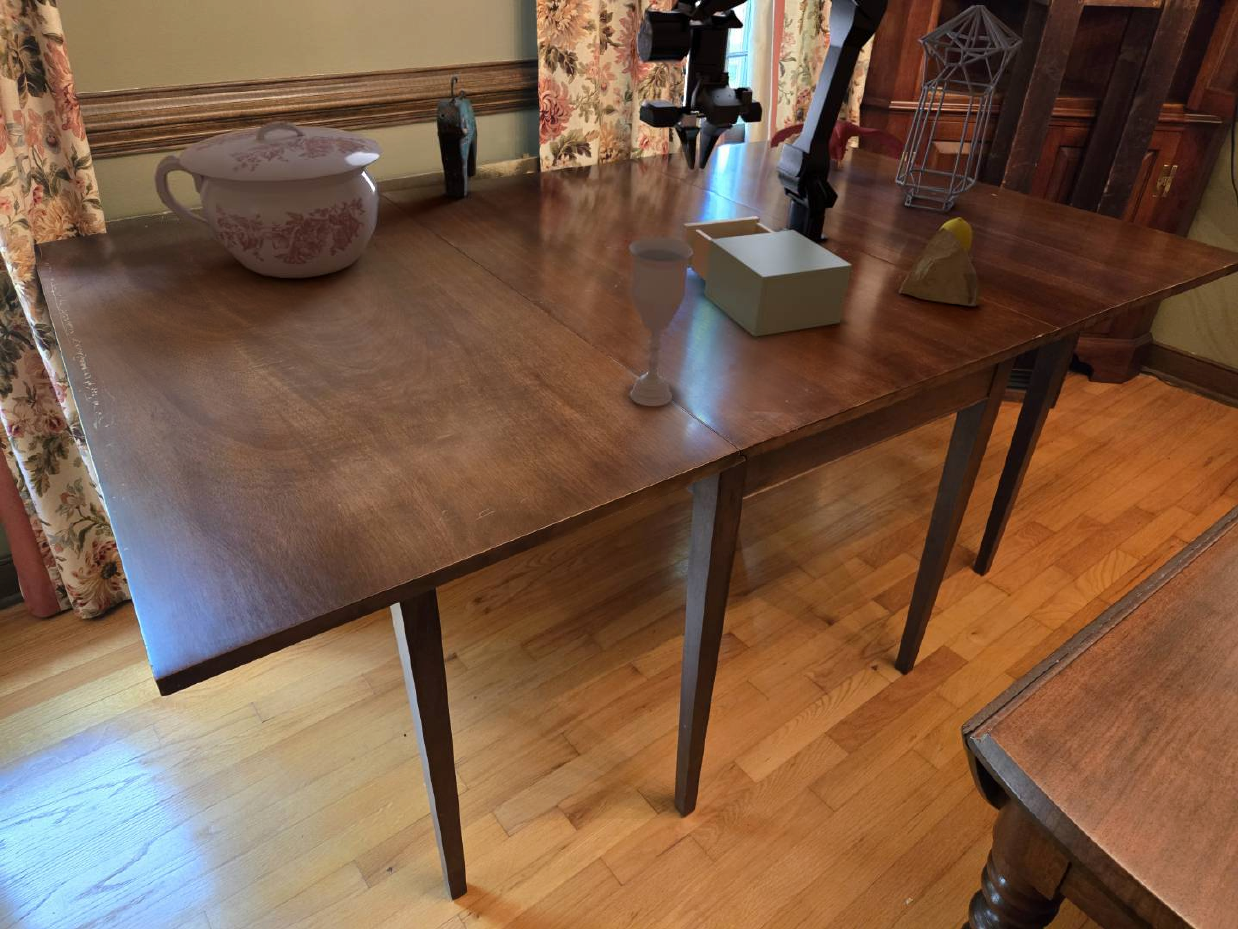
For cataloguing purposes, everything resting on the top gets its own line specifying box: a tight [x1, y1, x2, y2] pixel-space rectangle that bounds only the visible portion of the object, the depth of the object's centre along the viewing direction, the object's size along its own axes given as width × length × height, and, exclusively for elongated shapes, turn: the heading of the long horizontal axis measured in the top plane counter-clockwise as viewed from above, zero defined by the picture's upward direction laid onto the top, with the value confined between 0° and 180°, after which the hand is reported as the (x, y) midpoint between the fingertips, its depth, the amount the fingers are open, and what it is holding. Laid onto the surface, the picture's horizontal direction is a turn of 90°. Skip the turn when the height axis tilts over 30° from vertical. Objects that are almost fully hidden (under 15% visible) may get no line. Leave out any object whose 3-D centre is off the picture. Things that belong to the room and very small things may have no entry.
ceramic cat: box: [436, 76, 478, 198], centre depth 158 cm, size 20×6×20 cm, turn 179°
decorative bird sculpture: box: [770, 119, 904, 170], centre depth 182 cm, size 28×9×15 cm
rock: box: [898, 227, 981, 307], centre depth 123 cm, size 11×9×10 cm
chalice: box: [628, 236, 693, 407], centre depth 93 cm, size 7×7×18 cm
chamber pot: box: [153, 120, 384, 279], centre depth 121 cm, size 28×28×21 cm
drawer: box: [681, 215, 775, 282], centre depth 127 cm, size 18×13×7 cm
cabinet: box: [704, 230, 853, 338], centre depth 117 cm, size 15×14×9 cm
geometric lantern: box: [894, 4, 1023, 213], centre depth 154 cm, size 16×16×35 cm
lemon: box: [940, 216, 973, 254], centre depth 135 cm, size 6×6×8 cm
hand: (696, 168), depth 132 cm, fingers closed
